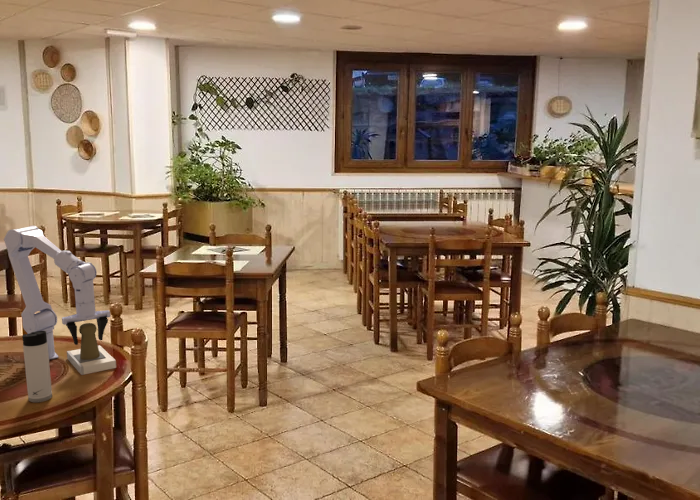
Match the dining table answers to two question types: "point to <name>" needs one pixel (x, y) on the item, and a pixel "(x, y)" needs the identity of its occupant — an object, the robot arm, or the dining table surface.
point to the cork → (88, 342)
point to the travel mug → (37, 366)
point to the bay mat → (90, 359)
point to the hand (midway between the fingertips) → (88, 341)
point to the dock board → (91, 362)
